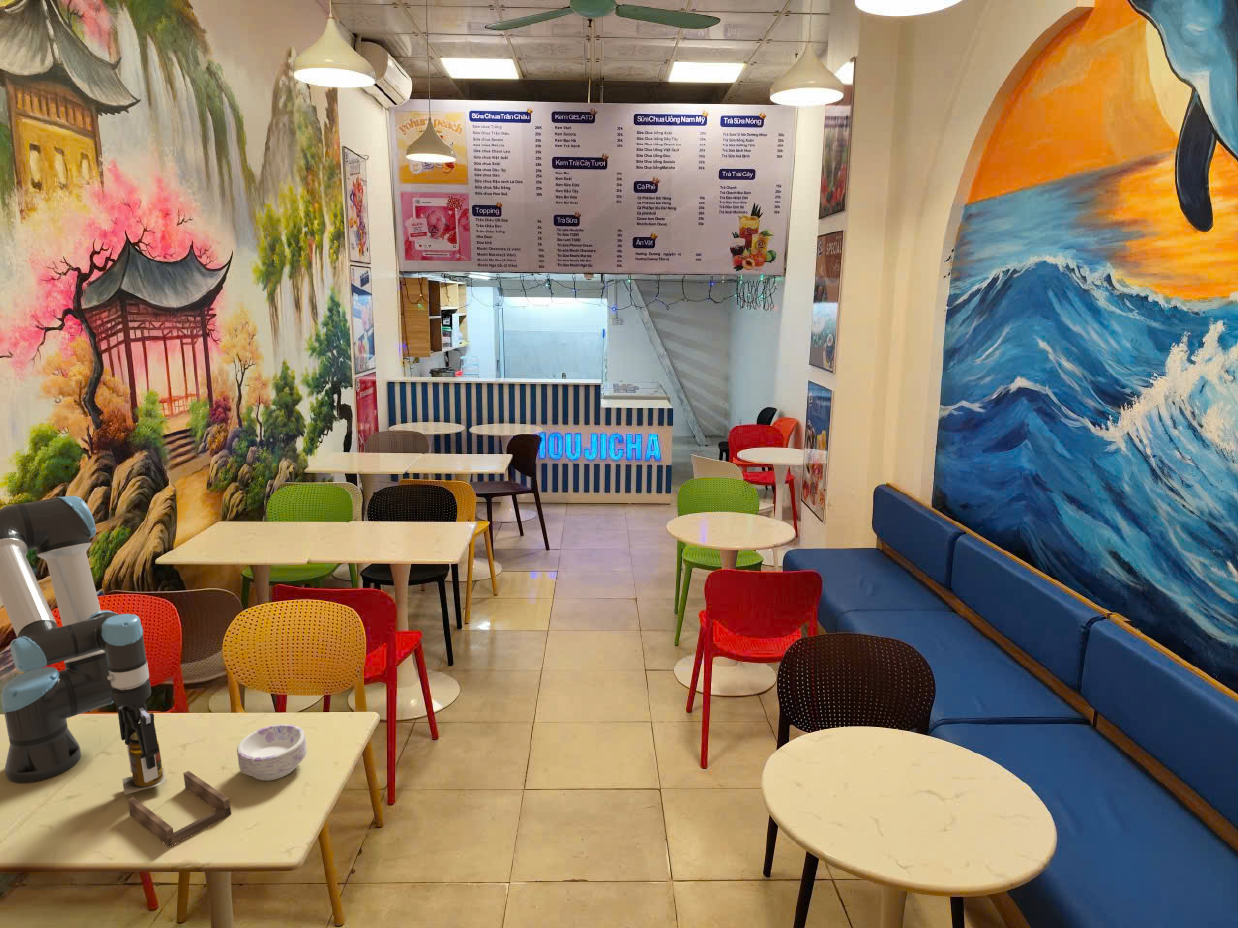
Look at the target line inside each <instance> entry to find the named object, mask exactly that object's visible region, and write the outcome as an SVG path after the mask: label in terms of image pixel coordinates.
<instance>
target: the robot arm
mask: <svg viewBox="0 0 1238 928" xmlns="http://www.w3.org/2000/svg"><path fill="white" fill-rule="evenodd" d="M96 534H97V528H96V523H95V519H94V516H93V514H92V512H91V510H90V508H89V506H88V504H87V503H86V502H85V501H84V500H83V498H81V497H79V496H78V495H66V496H56V497H52V498H51V497H50V498H47V499H42V500H35V501H31V502H30V501H29V502H24V503H23V502H22V503H18V504H11V505H7V506H4V507H2V508H0V600H1V603H2V605H3V608H4V610H5V612H6V614H7V616H8V619H9V621H10V624H11V626H12V628H13V631H14V633H15V636H16V638H15V639H13V640H11V642H10V646H9V647H10V654H11V658H12V661H13V665H14V667H15V668H16V669H17V671H19V672H20V673H21V672H22V673H21V674H19V675H17V676H15V677H14V678H12V679H11V680H10V681H9V682H8V683H6V684H5V685H4V687H3V688H2V690H1V693H0V694H1V695H0V697H1V709H2V711H3V713H4V714H3V715H4V720H5V723H6V725H5V726H6V731H7V736H8V741H9V747H8V752H7V757H6V761H5V766H4V771H5V776H6V779H7V780H8V781H10V782H13V783H17V784H19V783H24V784H25V783H26V784H27V783H32V782H33V783H36V782H38V781H42V780H46V779H50V778H53V777H56V776H58V775H60V774H62V773H64V772H66V771H68V770H69V769H71V768H72V767H74V765H76V764H77V763H78V762H79V761H80V759H81V756H82V751H81V746H80V744H79V742H78V741H77V740H76V738H75V736H74V735H73V733H72V732H71V731H70V729H69V727H68V721H67V719H69V718H72V717H74V716H78V715H81V714H84V713H87V712H90V711H92V710H96V709H99V708H101V707H105V706H110V705H112V704H113V703H114V704H115V707H116V710H117V715H118V716H117V717H118V718H117V719H118V724H119V732H120V739H121V741H124V744H125V745H126V748H127V749H126V750H127V754H128V755H127V756H128V762H129V768H130V773H132V768H131V762H130V756H129V748H130V741H129V737H130V736H131V735H132V734H133V733H135V732H136V734H137V738H138V741H139V745H140V748H141V752H142V755H141V756H139V758H140V759H141V763H142V769H143V776H144V782H146V783H147V782H149V781H151V780H153V779H155V778H157V777H158V772H157V766H156V759H155V754H157V753H159V749H160V746H159V747H158V742H159V741H158V738H157V737H158V736H157V733H156V732H157V731H156V726H155V714H154V713H153V712H150V713H148V711H149V708H148V705H147V704H146V703H145V702H146V700H148V699H149V698H150V697H151V695H152V688H151V687H152V686H151V681H150V679H149V678H150V672H149V666H148V665H149V664H148V660H147V655H146V647H145V642H144V641H145V638H144V628H143V626H142V623H141V619H140V617H139V616H138V615H136V614H134V613H133V614H131V613H122V614H119V613H116V612H114V611H112V610H106V609H103V610H101V607H100V601H99V598H98V594H97V589H96V586H95V583H94V582H95V581H94V578H93V574H92V569H91V567H90V562H89V558H88V554H87V551H88V550H89V549H90V547H91V545H92V542H91V539H92V538H93V537H95V536H96ZM31 550H35V552H36V555H37V557H38V558H40V559H42V560H44V561H45V562H46V564H47V568H48V572H49V577H50V581H51V585H52V589H53V592H54V597H55V601H56V605H57V608H58V613H59V616H60V621H61V624H62V626H58V623H57V621H56V619H55V617H54V615H53V612H52V610H51V608H50V605H49V604H48V602H47V599H46V597H45V595H44V592H43V590H42V589H41V586H40V584H39V582H38V579H37V578H36V575H35V573H34V571H33V568H32V567H31V564H30V562H29V560H28V558H27V555H28V551H31ZM61 662H64V663H63V664H64V666H65V668H64V669H62V670H58V669H57V668H56V667H53V666H51V665H54V664H55V665H56V664H58V663H61ZM23 672H24V673H23Z"/></svg>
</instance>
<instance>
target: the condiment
mask: <svg viewBox="0 0 1238 928" xmlns="http://www.w3.org/2000/svg"><path fill="white" fill-rule="evenodd" d="M129 741H130V748H129V756H130V762H131V768H132V772H131V774H132V776H127V777H123V778H122V788H123V793H124V794H123V795H124V796H126V795H129V794H133V793H136V792H139V791H143V790H148V789H151V788H153V787H157V786H160V785H164V784H166V783H167V778H166V774H165V769H164V767H163V764H162V756H161V749H160V744H159V741H158V747H159V753H157V754H155V759H156V766H157V772H158V777H157V778H155V779H153V780H151V781H149V782H147V783H146V782H144V776H143V769H142V763H141V759H140V758H139V756H141V755H142V752H141V748H140V745H139V741H138V738H137V734H136V732H135V733H133V734H132V735H131V736H130V737H129ZM129 756H128V757H129Z"/></svg>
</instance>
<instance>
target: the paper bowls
mask: <svg viewBox="0 0 1238 928" xmlns="http://www.w3.org/2000/svg"><path fill="white" fill-rule="evenodd" d="M306 740H307V739H306V733H305V732H304V730H303V729H302V727H299V726H297V725H294V724H287V723H286V724H284V723H283V724H281V723H280V724H272V725H268V726H264V727H262V728H259V729H257V730H256V729H255V731H253V732H251V733H249V734H248V735H246V736H245V737H244V738H242V740H241V741H240V742H239V743H238V745H237V748H236V754H237V759H238V768H239V770H240V771H241V773H242V774H245V775H247V776H251V777H252V778H254V779H256V780H258V781H267V782H268V781H274V780H278V779H281V778H283V777H285V776H288V775H289V774H290V773H292V772H293V771H294V770H295V769H296V768H297V766H298V765H300V763H301V762H303V760H305V758H306V756H307V750H308V748H307V741H306Z"/></svg>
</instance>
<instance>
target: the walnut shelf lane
mask: <svg viewBox="0 0 1238 928" xmlns="http://www.w3.org/2000/svg"><path fill="white" fill-rule="evenodd" d="M182 774H183V779H184V780H183V781H184V789H186V790H187V791H189V793H191V794H193V795H194V796H196V797H197V798H198V797H199V800H201V801H202V800H203V802H204V803H205V804H207V805H208V806H209V807H211V808H212V809H214V811H212V812H211V813H208V814H206V815H205V816H202V817H200V818H198V819H197V820H195V821H193V822H191V823H189V824H187V825H185V826H183V827H181V828H180V829H178V830H175V831H174V828H173V827H172V826H171V825H170V824H169V823H167V822H166V821H164V820H163V819H162V818H161V817H160V816H158V815H157V814H155V812H153V811H152V810H151V809H150V808H148V807H147V806H145V805H144V804H143V803H141V802H140V801H139V800H138V799H136V798H135V797H134V796H132V797H130V798H128V799H127V806H128V813H129V816H130V817H131V818H132V819H133V820H135V821H136V822H137V823H138V824H140V825H141V826H142V827H144V829H145V830H147V831H148V830H149V831H150V832H149V831H148V832H149V833H150V834H152V835H153V836H154V835H155V836H154V837H155V838H157V839H158V838H159V839H160V840H159V839H158V840H159V841H160V842H162V843H163V842H164V843H165V844H167V845H168V846H169V847H170V846H171V847H173V846H175V845H176V844H175V843H177V842H179V841H181V840H183V839H185V838H186V839H188V838H190V837H192V836H193V834H194V835H195V833H196V834H198V833H199V832H202V831H203V830H205V829H206V828H208V826H209V827H210V826H212V825H214V824H216V823H218V822H219V821H222V820H224V819H225V818H227V817H229V816H231V815H232V810H231V801H230V798H229V797H228V796H227V795H226V794H223V793H222V792H221V791H219V790H218V789H216V788H215V787H214V786H212V785H210V784H208V783H207V782H206V781H204V780H203V779H202V778H200V777H198V776H197V775H196V774H194V773H192V772H191V771H190V770H186V771H185V772H183V773H182ZM197 832H198V833H197ZM191 835H192V836H191ZM187 837H188V838H187ZM186 839H185V840H186ZM183 841H184V840H183ZM181 842H182V841H181ZM164 843H163V844H164ZM179 843H180V842H179ZM165 844H164V845H165ZM174 844H175V845H174ZM177 844H178V843H177ZM167 845H166V846H167ZM172 845H173V846H172ZM168 846H167V847H168ZM169 847H168V848H169ZM171 847H170V848H171Z"/></svg>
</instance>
